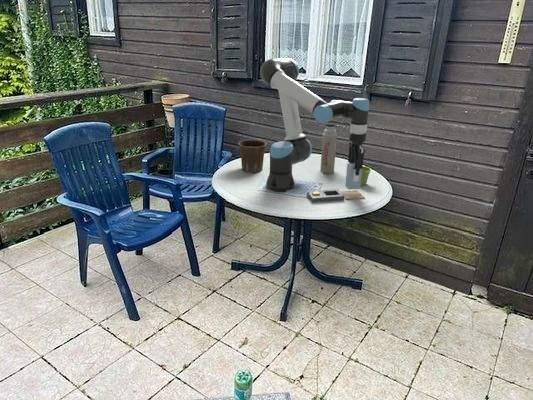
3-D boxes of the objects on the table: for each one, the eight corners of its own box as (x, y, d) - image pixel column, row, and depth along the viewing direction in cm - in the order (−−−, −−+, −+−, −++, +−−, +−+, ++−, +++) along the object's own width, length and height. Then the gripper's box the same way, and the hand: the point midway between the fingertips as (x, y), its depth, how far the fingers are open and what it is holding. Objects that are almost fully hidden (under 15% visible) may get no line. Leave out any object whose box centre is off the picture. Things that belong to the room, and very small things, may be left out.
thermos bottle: (327, 174, 228) (330, 126, 217) (317, 170, 234) (320, 123, 223) (336, 171, 233) (340, 124, 222) (327, 168, 239) (330, 122, 227)
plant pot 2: (361, 188, 209) (362, 172, 205) (348, 183, 216) (349, 167, 212) (372, 184, 214) (374, 169, 210) (359, 179, 221) (361, 164, 217)
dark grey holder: (306, 196, 197) (307, 189, 196) (337, 194, 200) (337, 187, 199) (312, 203, 189) (312, 196, 188) (343, 201, 192) (344, 194, 191)
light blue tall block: (345, 186, 197) (347, 163, 192) (356, 185, 198) (358, 162, 193) (348, 189, 193) (350, 166, 188) (360, 188, 194) (362, 165, 189)
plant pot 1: (269, 166, 240) (269, 140, 234) (262, 175, 226) (262, 148, 219) (243, 164, 244) (243, 138, 237) (235, 172, 229) (234, 145, 223)
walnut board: (338, 193, 201) (338, 191, 201) (356, 192, 203) (357, 190, 203) (345, 201, 192) (346, 199, 192) (364, 200, 194) (365, 197, 194)
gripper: (373, 136, 177) (368, 185, 187) (358, 128, 193) (353, 173, 202) (358, 137, 176) (353, 186, 185) (343, 128, 192) (339, 173, 201)
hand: (353, 179), depth 194 cm, fingers closed on light blue tall block, 4 cm apart
